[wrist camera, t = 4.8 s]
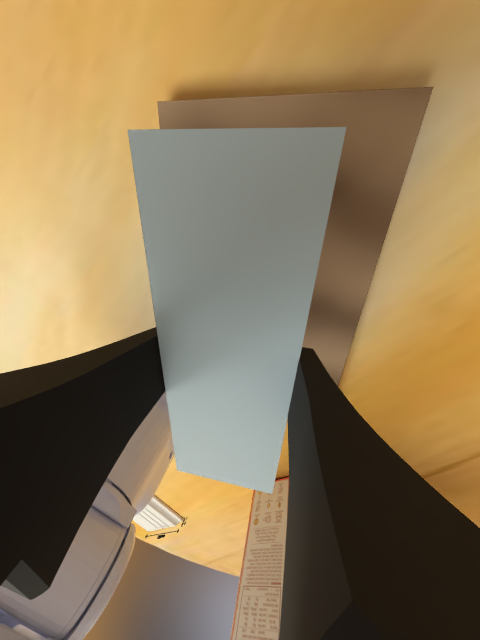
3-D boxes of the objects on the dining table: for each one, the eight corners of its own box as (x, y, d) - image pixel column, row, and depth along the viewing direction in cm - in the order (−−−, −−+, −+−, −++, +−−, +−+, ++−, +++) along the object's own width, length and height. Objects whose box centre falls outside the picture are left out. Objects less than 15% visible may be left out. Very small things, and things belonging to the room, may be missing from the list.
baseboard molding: (43, 392, 32) (21, 419, 38) (21, 408, 30) (1, 434, 35) (190, 513, 38) (153, 521, 43) (182, 534, 35) (143, 541, 41)
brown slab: (325, 411, 21) (333, 464, 16) (188, 382, 23) (162, 421, 19) (422, 97, 11) (506, 18, 6) (166, 108, 14) (103, 58, 9)
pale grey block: (275, 438, 13) (271, 494, 11) (197, 422, 14) (177, 470, 12) (325, 159, 7) (346, 127, 4) (181, 157, 8) (128, 129, 5)
